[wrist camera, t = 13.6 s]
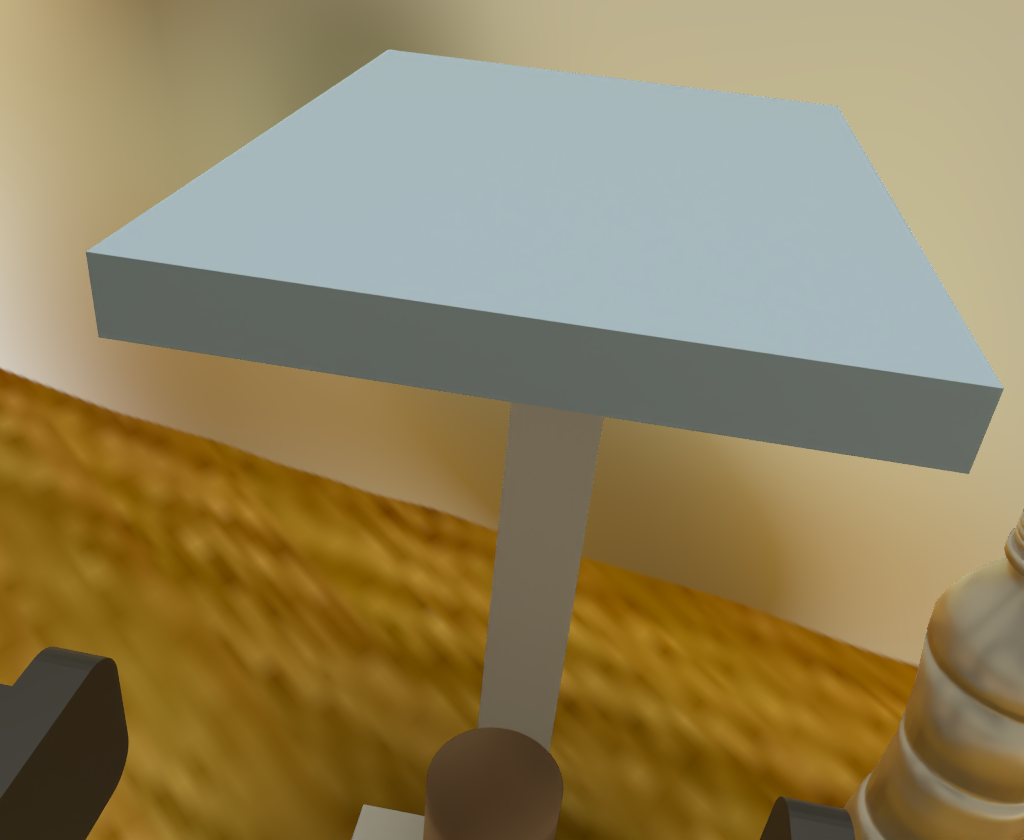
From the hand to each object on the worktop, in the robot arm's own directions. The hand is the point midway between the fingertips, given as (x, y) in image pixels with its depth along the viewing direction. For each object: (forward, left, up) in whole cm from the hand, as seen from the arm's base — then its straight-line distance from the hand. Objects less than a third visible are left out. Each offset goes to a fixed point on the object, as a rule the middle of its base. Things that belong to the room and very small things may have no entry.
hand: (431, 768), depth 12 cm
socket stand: (-6, +13, -28) cm, 32 cm away
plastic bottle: (+7, +26, -28) cm, 39 cm away
